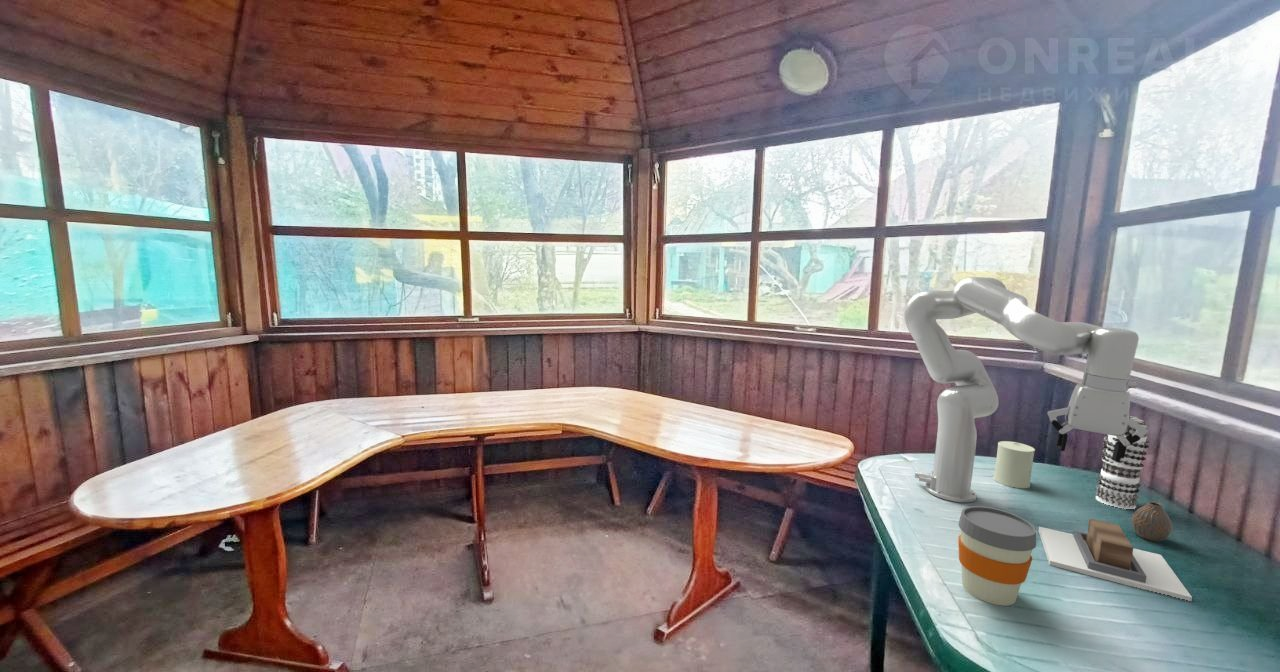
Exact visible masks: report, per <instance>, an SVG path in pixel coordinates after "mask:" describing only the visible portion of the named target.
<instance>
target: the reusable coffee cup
mask: <svg viewBox="0 0 1280 672" xmlns="http://www.w3.org/2000/svg"><path fill="white" fill-rule="evenodd" d="M958 527H959V529H960V530H959V531H960V534H959V535H958V537H957V538H958V560H959V563H960V564H961V585H962V587H963V588H964V590H966V592H967V593H969V594H970V595H971V596H973V597H975V598H976V599H977V600H981V601H983V602H986V603H988V604H989V603H990V604H992V605H997V606H1005V607H1006V606H1012V605H1013V604H1015V603H1016V601H1017V599H1018V596H1019V591H1020V589H1021V586H1022V584H1024V582H1025V581H1026V579H1027V576H1028V574H1029V571H1030V566H1031V564H1032V561H1033V557H1032V552H1033V550H1034V549H1035V548H1036V547H1037V529H1036V527H1035V525H1033V524H1032V523H1031V522H1029V521H1028V520H1026V519H1025V518H1023V517H1021V516H1018V515H1017V514H1015V513H1011V512H1009V511H1006V510H1002V509H999V508H995V507H988V506H980V505H979V506H978V505H975V506H974V505H972V506H966V507H964V508H963V509H962V510H961V513H960V516H959V521H958Z"/></svg>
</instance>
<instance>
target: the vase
mask: <svg viewBox="0 0 1280 672" xmlns="http://www.w3.org/2000/svg"><path fill="white" fill-rule="evenodd" d="M1131 525H1132V529H1133V531H1134V532H1135V533H1136V535H1138V536H1139V537H1141V538H1142V539H1144V538H1145V540H1147V541H1151V542H1156V541H1157V542H1156V543H1158V542H1163V541H1165V540H1167V539H1168V538H1169V536H1170V535H1171V533H1172V531H1173V522H1172V520H1171V518H1170V515H1168V513H1167V512H1166V511H1165V509H1164V508H1163V505H1162V504H1161V503H1159V502H1156V501H1148V502H1147V503H1146V504H1144V505H1142V506H1141V507H1139V508H1138V509H1137V508H1136V510H1135V511H1134V513H1133V514H1132V516H1131Z"/></svg>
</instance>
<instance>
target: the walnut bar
mask: <svg viewBox="0 0 1280 672" xmlns="http://www.w3.org/2000/svg"><path fill="white" fill-rule="evenodd" d="M1086 533H1087V539H1086V544H1087V546H1088V548H1089V550H1090V552H1091V554H1092V556H1093V559H1094V561H1095V562H1099V563H1103V564H1107V565H1111V566H1115V567H1119V568H1123V569H1127V570H1130V565H1131V559H1132V553H1133V548H1134V547H1133V545H1132V544H1131V542H1130V541H1129V539H1128V538H1127V536H1126V535H1125V533H1124V531H1123V530H1122V528H1121V527H1120V525H1119V524H1117V523H1113V522H1112V523H1111V522H1108V521H1103V520H1098V519H1095V518H1089V520H1088V527H1087V532H1086Z"/></svg>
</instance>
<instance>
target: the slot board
mask: <svg viewBox="0 0 1280 672" xmlns="http://www.w3.org/2000/svg"><path fill="white" fill-rule="evenodd" d="M1038 534H1039V537H1040V540H1041V543H1042V546H1043V549H1044V552H1045V555H1046V558H1047V562H1048V564H1049V566H1051V567H1055V568H1060V569H1063V570H1064V569H1065V570H1067V571H1071V572H1075V573H1080V574H1083V575H1087V576H1091V577H1095V578H1099V579H1102V580H1105V581H1111V582H1114V583H1118V584H1121V585H1123V586H1124V585H1125V586H1129V587H1132V586H1133V587H1134V588H1136V587H1137V589H1140V588H1141V590H1143V591H1147V590H1149V591H1148V592H1151V591H1153V592H1152V593H1155V592H1157V593H1156V594H1159V593H1161V594H1160V595H1163V594H1165V595H1164V596H1167V595H1170V596H1172V597H1171V598H1174V597H1176V598H1175V599H1178V598H1180V599H1179V600H1182V599H1185V600H1184V601H1186V600H1188V601H1187V602H1189V601H1191V602H1192V599H1193V597H1192V595H1191V594H1190V593H1189V591H1188V590H1187V588H1186V587H1185V586H1184V584H1183V582H1182V581H1180V580H1181V579H1179V578H1178V576H1177V575H1176V573H1175V572H1174V570H1173V569H1172V568H1171V567H1170V565H1169V564H1168V563H1167V561H1166V559H1165V558H1164V557H1163V555H1162V554H1159V553H1155V552H1151V551H1146V550H1143V549H1138V548H1134V547H1133V553H1132V559H1131V565H1130V570H1127V569H1123V568H1119V567H1115V566H1111V565H1107V564H1103V563H1099V562H1095V561H1094V559H1093V556H1092V554H1091V552H1090V550H1089V548H1088V546H1087V544H1086V539H1087V532H1085V531H1084V532H1083V531H1079V530H1073V534H1072V533H1069V532H1064V531H1060V530H1056V529H1052V528H1046V527H1043V526H1038ZM1133 587H1132V588H1133ZM1145 589H1146V590H1145ZM1170 596H1169V597H1170Z"/></svg>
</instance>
